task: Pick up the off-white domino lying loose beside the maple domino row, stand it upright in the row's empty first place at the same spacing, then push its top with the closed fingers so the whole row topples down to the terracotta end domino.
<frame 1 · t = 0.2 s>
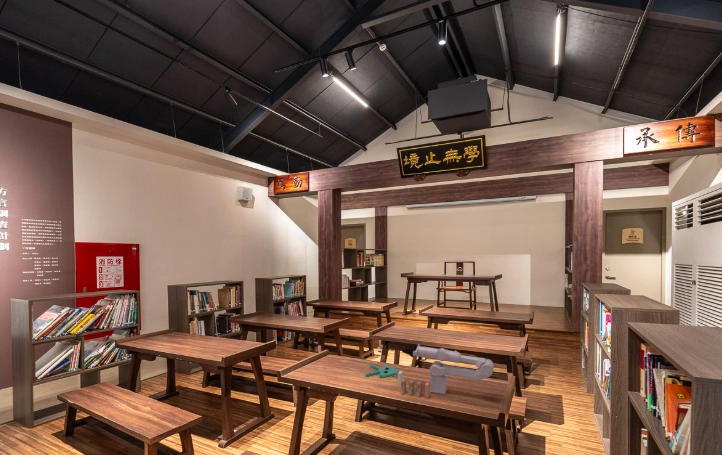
hand: (404, 349, 215), 21 cm above the table, tool horizontal, fingers open, 7 cm apart
alien figure: (383, 373, 236), on the table
domino 3: (411, 394, 201), on the table
loose domino: (400, 384, 216), on the table
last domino: (427, 396, 198), on the table
domino 4: (419, 395, 199), on the table
domino 2: (403, 392, 203), on the table
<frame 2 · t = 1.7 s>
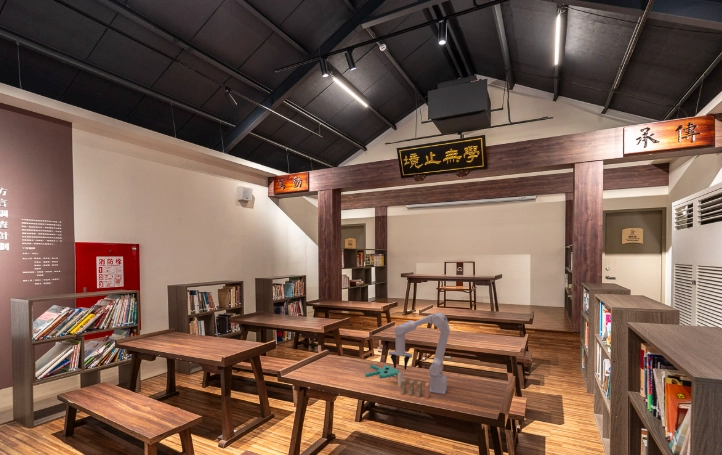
hand: (400, 368, 217), 9 cm above the table, tool pointing down, fingers open, 6 cm apart
nothing on the table moved.
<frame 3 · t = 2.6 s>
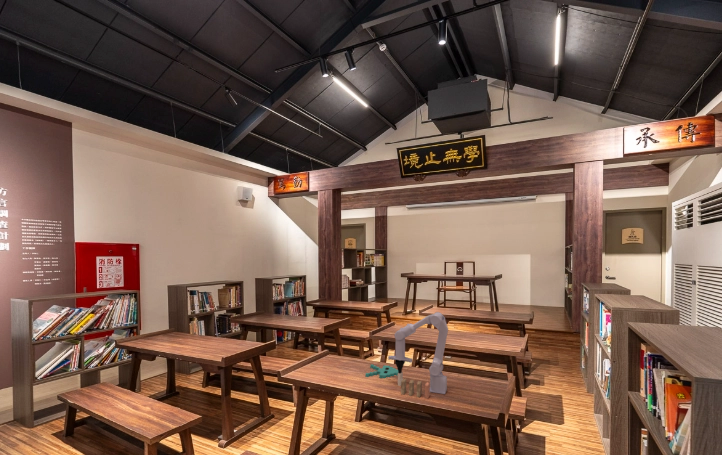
hand: (400, 372, 216), 7 cm above the table, tool pointing down, fingers closed, pressing on loose domino
loose domino: (400, 384, 216), on the table, touching gripper
everything else where it was.
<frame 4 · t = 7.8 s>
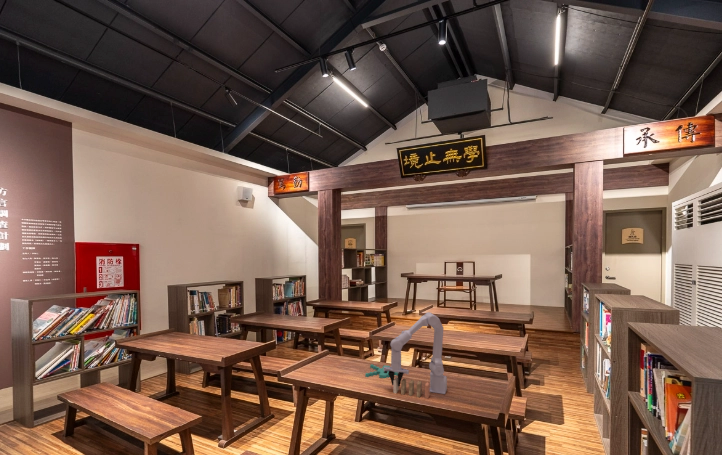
hand: (396, 385, 205), 4 cm above the table, tool pointing down, fingers open, 3 cm apart
loose domino: (396, 391, 205), on the table
everything else where it was.
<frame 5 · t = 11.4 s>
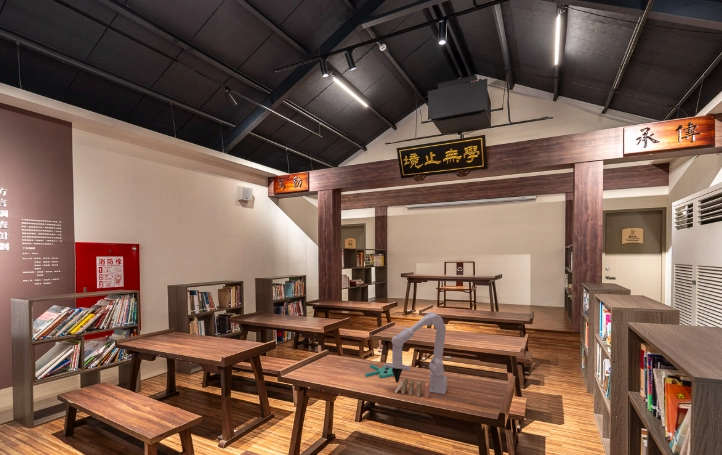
hand: (397, 381, 205), 6 cm above the table, tool pointing down, fingers closed
loose domino: (396, 390, 204), on the table, tilted 34°
domino 2: (403, 392, 203), on the table, tilted 10°
everything else where it was.
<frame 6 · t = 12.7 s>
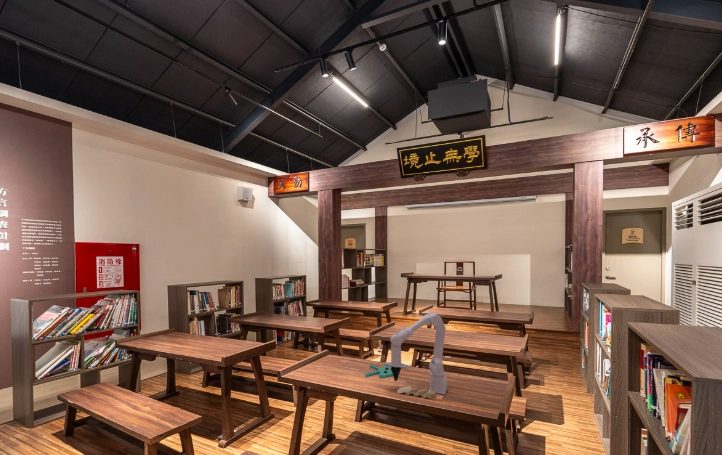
hand: (396, 380, 205), 6 cm above the table, tool pointing down, fingers closed
domino 3: (415, 393, 200), point 1 cm above the table, tilted 69°, touching domino 2, domino 4
loose domino: (398, 390, 204), point 1 cm above the table, tilted 71°, touching domino 2
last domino: (429, 396, 197), on the table, tilted 90°, touching domino 4
domino 4: (423, 394, 198), point 1 cm above the table, tilted 75°, touching domino 3, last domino
domino 2: (406, 391, 202), point 1 cm above the table, tilted 70°, touching domino 3, loose domino
everything else where it was.
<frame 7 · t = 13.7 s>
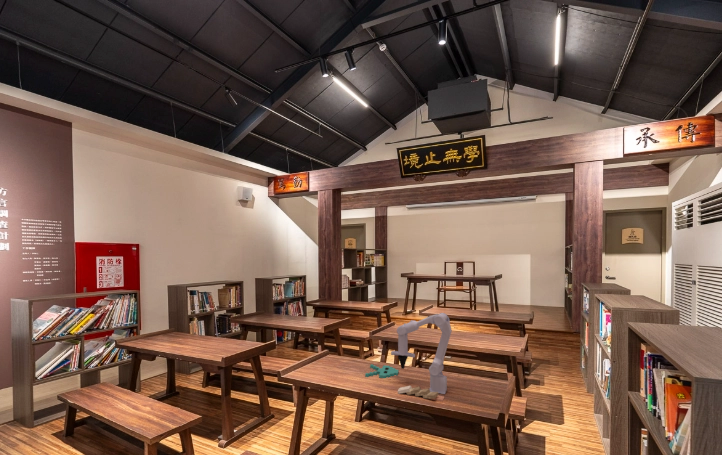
hand: (402, 368, 217), 9 cm above the table, tool pointing down, fingers closed
domino 3: (416, 393, 200), point 1 cm above the table, tilted 69°, touching domino 2, domino 4
loose domino: (398, 390, 204), point 1 cm above the table, tilted 72°
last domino: (430, 397, 197), on the table, tilted 90°
domino 4: (425, 395, 197), point 1 cm above the table, tilted 76°, touching domino 3
domino 2: (407, 392, 202), point 1 cm above the table, tilted 70°, touching domino 3
everything else where it was.
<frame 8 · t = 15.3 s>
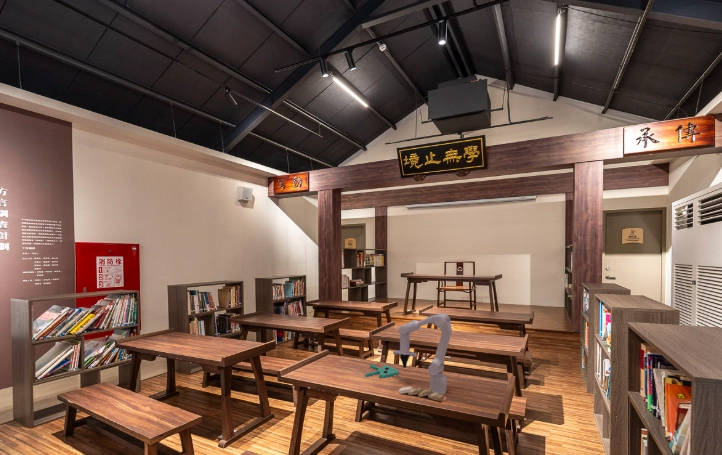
hand: (404, 367, 219), 9 cm above the table, tool pointing down, fingers closed
domino 3: (420, 394, 199), point 1 cm above the table, tilted 64°
loose domino: (399, 390, 204), point 1 cm above the table, tilted 73°, touching domino 2
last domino: (432, 397, 196), on the table, tilted 90°, touching domino 4
domino 4: (430, 394, 196), point 2 cm above the table, tilted 90°, touching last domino
domino 2: (409, 392, 202), point 1 cm above the table, tilted 73°, touching loose domino
everything else where it was.
at the end: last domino tilted 90°; loose domino tilted 73°; loose domino inside the target area (1.8 cm from its centre), point 0.8 cm above the table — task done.
